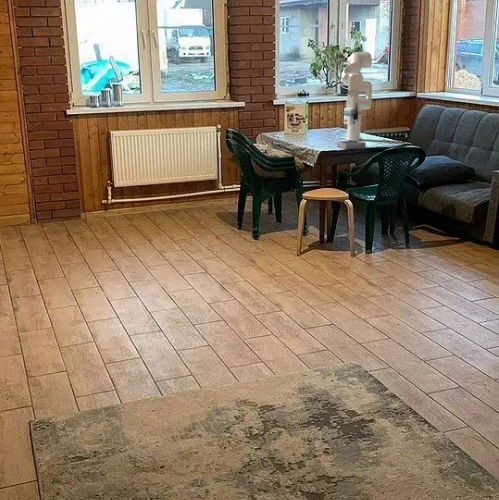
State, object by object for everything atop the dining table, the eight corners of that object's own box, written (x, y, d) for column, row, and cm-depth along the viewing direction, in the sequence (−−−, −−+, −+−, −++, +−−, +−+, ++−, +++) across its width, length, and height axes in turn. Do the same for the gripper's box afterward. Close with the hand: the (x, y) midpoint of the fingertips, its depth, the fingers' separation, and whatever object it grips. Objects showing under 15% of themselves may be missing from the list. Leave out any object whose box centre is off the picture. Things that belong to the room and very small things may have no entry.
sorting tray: (337, 146, 497) (337, 141, 496) (356, 145, 502) (357, 140, 501) (345, 149, 487) (345, 144, 486) (365, 147, 492) (365, 142, 491)
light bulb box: (349, 125, 484) (350, 108, 481) (343, 123, 490) (343, 108, 486) (361, 123, 490) (362, 107, 487) (354, 122, 495) (355, 106, 492)
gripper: (342, 91, 490) (341, 117, 495) (355, 93, 475) (354, 120, 480) (351, 91, 493) (350, 117, 498) (365, 93, 477) (363, 120, 482)
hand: (352, 118), depth 489 cm, fingers closed on light bulb box, 7 cm apart
